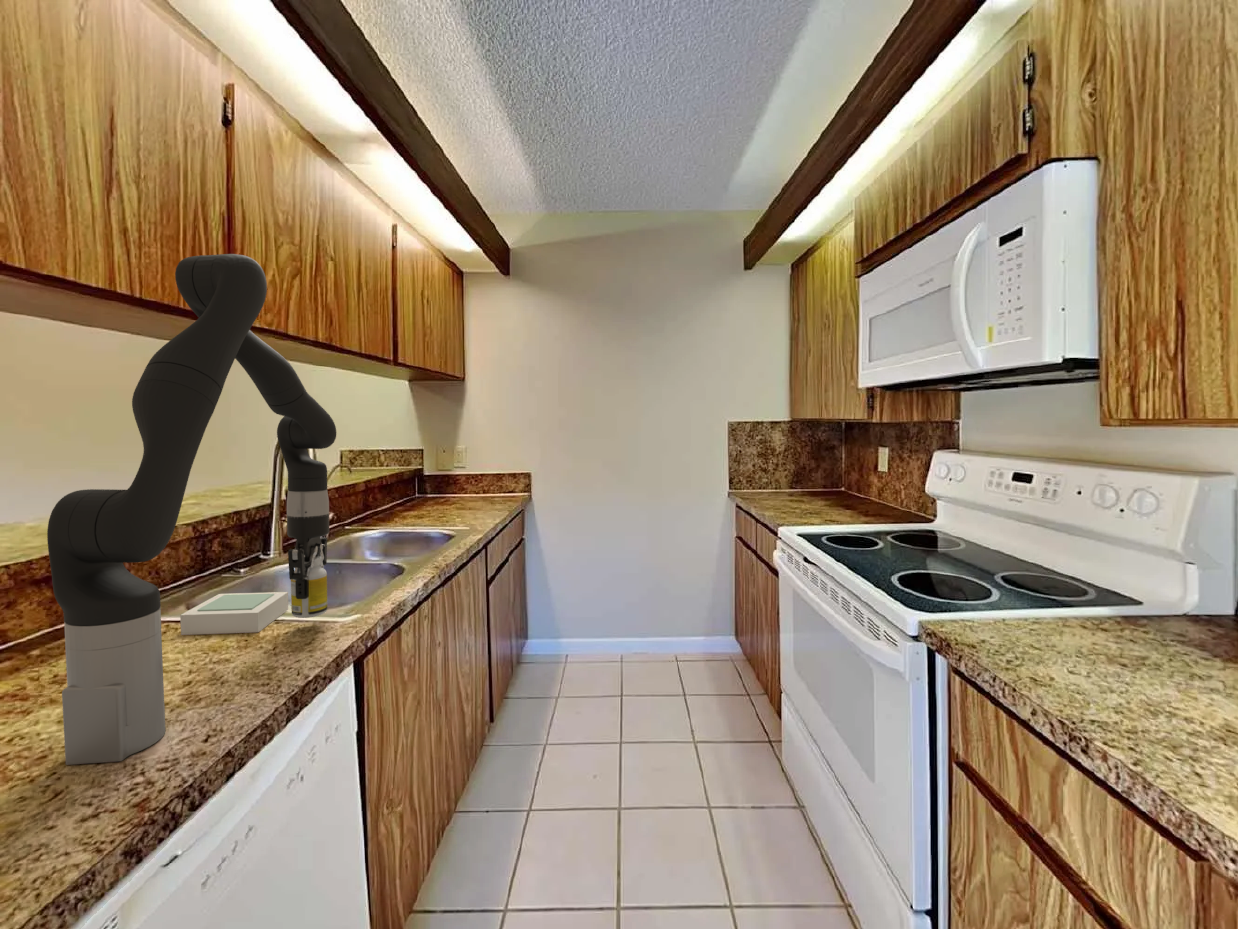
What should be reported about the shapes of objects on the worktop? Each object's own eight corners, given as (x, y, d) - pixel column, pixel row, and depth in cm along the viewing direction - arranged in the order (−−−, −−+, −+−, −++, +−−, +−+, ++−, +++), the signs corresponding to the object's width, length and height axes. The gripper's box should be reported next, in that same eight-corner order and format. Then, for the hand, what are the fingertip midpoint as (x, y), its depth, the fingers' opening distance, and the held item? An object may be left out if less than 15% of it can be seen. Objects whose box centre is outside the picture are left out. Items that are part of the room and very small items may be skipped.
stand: (258, 632, 113) (257, 611, 112) (181, 635, 111) (180, 613, 110) (288, 609, 127) (287, 590, 126) (219, 611, 124) (219, 592, 124)
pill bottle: (334, 609, 118) (333, 555, 118) (314, 619, 112) (313, 562, 111) (305, 608, 119) (304, 553, 118) (283, 618, 113) (282, 560, 112)
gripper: (314, 517, 108) (315, 603, 109) (339, 507, 122) (340, 583, 123) (272, 517, 107) (273, 604, 108) (302, 507, 121) (303, 584, 122)
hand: (309, 593), depth 115 cm, fingers closed on pill bottle, 6 cm apart
